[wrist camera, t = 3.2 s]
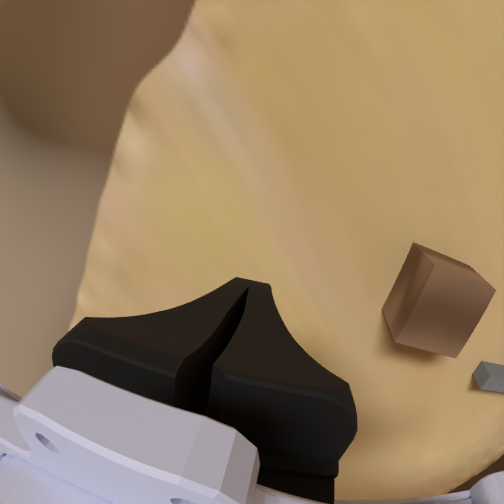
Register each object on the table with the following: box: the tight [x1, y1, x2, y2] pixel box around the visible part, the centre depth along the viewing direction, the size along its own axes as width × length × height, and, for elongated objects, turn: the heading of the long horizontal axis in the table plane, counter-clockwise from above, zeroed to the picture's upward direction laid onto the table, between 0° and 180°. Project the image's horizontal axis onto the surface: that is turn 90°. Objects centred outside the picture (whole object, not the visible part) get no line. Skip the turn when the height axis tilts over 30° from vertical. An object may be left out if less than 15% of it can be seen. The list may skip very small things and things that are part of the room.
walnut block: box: [382, 242, 496, 358], centre depth 17 cm, size 5×5×4 cm
